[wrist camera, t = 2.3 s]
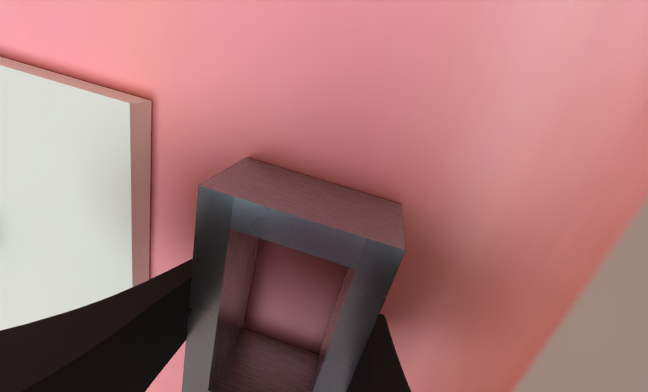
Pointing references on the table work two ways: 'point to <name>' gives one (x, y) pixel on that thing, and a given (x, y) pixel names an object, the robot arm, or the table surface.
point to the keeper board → (69, 193)
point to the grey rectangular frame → (299, 234)
